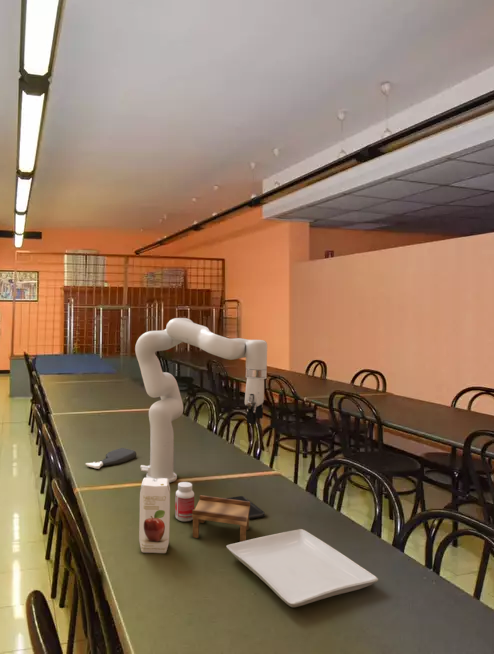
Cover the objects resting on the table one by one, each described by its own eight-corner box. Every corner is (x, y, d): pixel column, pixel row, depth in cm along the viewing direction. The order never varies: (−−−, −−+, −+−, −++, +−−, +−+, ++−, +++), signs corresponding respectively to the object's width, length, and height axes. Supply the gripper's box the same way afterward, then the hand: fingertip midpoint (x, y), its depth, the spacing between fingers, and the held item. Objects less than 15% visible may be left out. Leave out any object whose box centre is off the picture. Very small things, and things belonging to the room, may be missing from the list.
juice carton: (140, 540, 132) (141, 476, 132) (169, 541, 132) (170, 476, 132) (138, 554, 124) (139, 485, 124) (169, 555, 124) (170, 486, 124)
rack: (191, 537, 134) (192, 510, 134) (199, 520, 146) (200, 494, 146) (246, 546, 130) (246, 517, 130) (249, 527, 141) (250, 501, 141)
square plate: (290, 620, 98) (291, 603, 98) (224, 557, 123) (224, 543, 123) (380, 592, 109) (380, 576, 109) (302, 539, 134) (302, 526, 134)
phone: (245, 516, 146) (223, 498, 160) (245, 519, 146) (223, 501, 160) (266, 513, 149) (243, 495, 163) (266, 516, 149) (243, 498, 163)
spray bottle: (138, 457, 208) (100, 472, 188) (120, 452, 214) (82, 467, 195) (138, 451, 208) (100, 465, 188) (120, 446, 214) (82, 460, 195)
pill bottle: (197, 519, 146) (198, 485, 146) (182, 523, 143) (183, 489, 143) (186, 512, 151) (186, 479, 151) (171, 516, 148) (172, 483, 148)
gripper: (252, 370, 173) (250, 414, 173) (239, 375, 157) (238, 424, 157) (271, 372, 169) (270, 417, 169) (260, 377, 154) (259, 427, 154)
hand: (254, 420), depth 163 cm, fingers open, 9 cm apart
